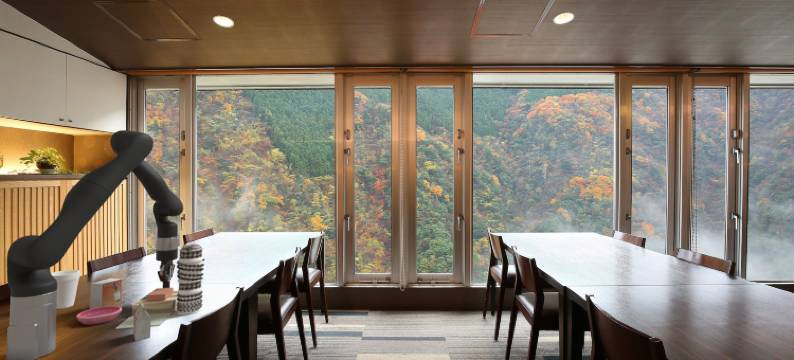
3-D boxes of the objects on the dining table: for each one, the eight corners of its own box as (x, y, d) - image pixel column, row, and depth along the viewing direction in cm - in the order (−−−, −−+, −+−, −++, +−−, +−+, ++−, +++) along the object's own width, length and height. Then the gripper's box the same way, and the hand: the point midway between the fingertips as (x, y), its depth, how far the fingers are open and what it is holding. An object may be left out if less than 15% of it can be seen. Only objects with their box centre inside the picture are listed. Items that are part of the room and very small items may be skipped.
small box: (101, 312, 133) (102, 284, 133) (89, 311, 134) (90, 283, 134) (121, 305, 141) (122, 278, 141) (110, 304, 142) (111, 277, 142)
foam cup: (41, 307, 137) (42, 273, 137) (72, 301, 145) (73, 269, 145) (52, 311, 133) (53, 277, 133) (83, 304, 141) (84, 271, 141)
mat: (160, 325, 121) (160, 324, 121) (115, 329, 118) (115, 328, 118) (172, 313, 133) (172, 312, 133) (132, 316, 130) (132, 315, 130)
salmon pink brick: (164, 300, 135) (165, 294, 135) (146, 301, 134) (147, 295, 134) (173, 293, 144) (173, 287, 144) (156, 294, 142) (156, 288, 143)
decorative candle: (179, 307, 139) (180, 243, 139) (205, 305, 142) (207, 243, 142) (172, 316, 130) (173, 247, 131) (200, 313, 133) (202, 246, 133)
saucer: (66, 325, 121) (66, 316, 121) (101, 312, 133) (102, 304, 133) (97, 328, 119) (97, 318, 119) (130, 315, 131) (130, 306, 131)
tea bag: (146, 331, 117) (147, 300, 117) (150, 337, 112) (151, 305, 112) (133, 334, 114) (133, 302, 114) (135, 341, 109) (136, 308, 109)
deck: (172, 313, 133) (172, 302, 133) (132, 316, 130) (132, 305, 130) (185, 300, 148) (185, 290, 148) (150, 302, 145) (150, 292, 145)
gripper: (172, 250, 140) (170, 294, 139) (182, 245, 152) (181, 285, 152) (150, 251, 138) (148, 296, 137) (162, 245, 150) (161, 286, 150)
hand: (166, 290), depth 145 cm, fingers closed
